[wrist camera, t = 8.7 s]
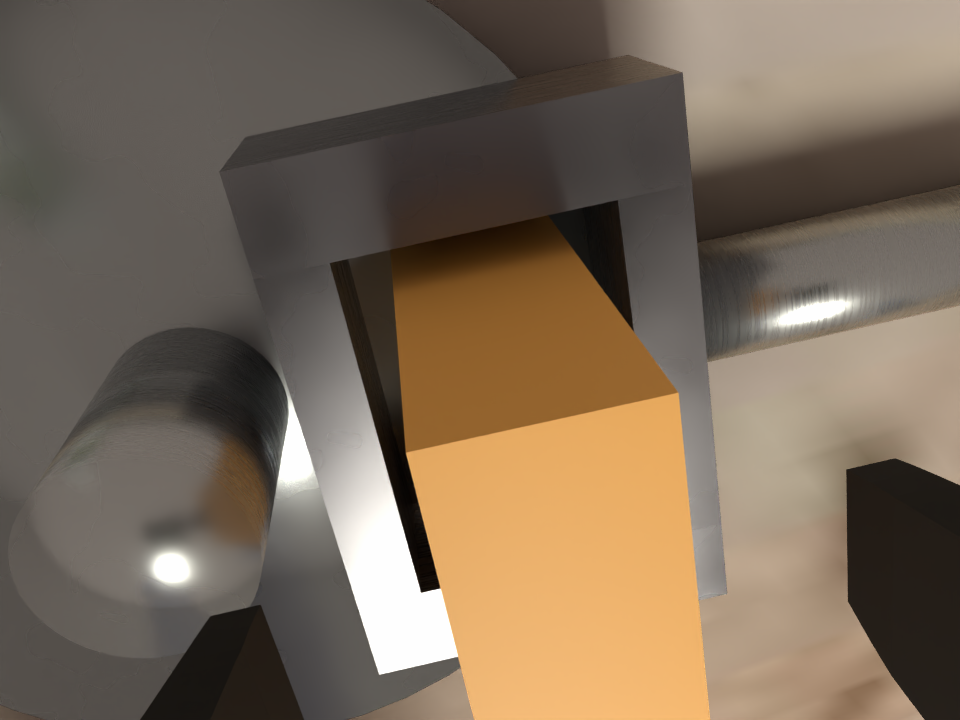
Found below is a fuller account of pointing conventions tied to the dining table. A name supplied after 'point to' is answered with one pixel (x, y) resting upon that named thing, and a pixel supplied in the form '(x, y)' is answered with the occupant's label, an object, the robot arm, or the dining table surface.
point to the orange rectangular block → (547, 482)
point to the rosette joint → (323, 318)
